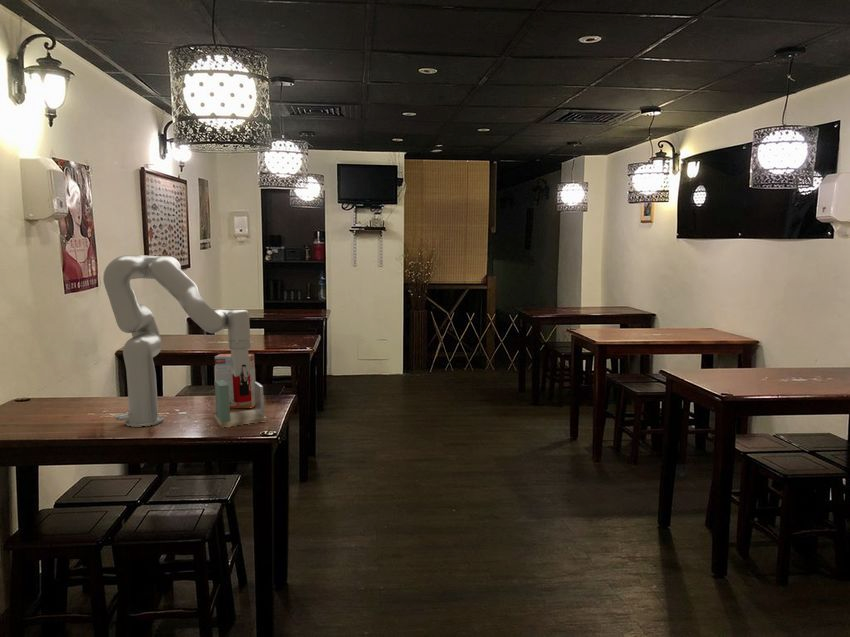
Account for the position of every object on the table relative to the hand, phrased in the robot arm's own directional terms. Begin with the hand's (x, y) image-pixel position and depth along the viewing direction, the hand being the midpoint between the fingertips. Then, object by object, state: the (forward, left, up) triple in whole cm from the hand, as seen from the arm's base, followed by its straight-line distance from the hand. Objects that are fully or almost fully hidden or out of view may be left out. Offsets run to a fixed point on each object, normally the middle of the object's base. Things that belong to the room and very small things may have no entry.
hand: (242, 393), depth 236 cm
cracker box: (+2, +20, -10) cm, 23 cm away
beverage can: (0, 0, -4) cm, 4 cm away
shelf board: (-1, 0, -10) cm, 10 cm away
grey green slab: (-7, 0, -8) cm, 11 cm away
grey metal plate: (+6, 0, -8) cm, 10 cm away
